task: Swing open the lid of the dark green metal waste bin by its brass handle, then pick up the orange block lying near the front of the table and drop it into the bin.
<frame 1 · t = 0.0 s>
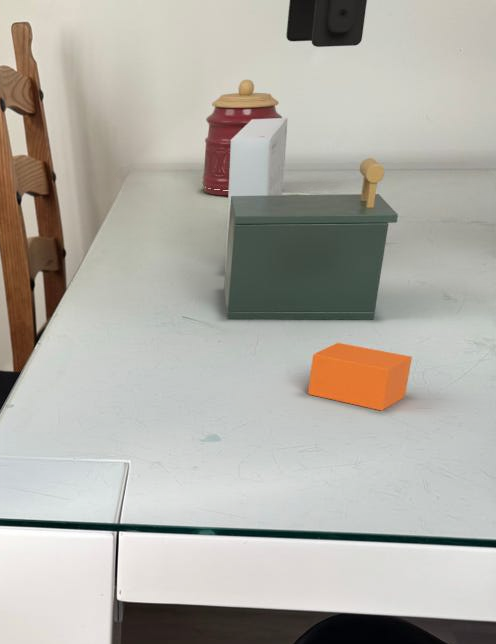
hand: (321, 42, 71), 27 cm above the table, tool pointing down, fingers open, 9 cm apart
bin: (294, 304, 115), on the table
kitchen canister: (238, 192, 181), on the table
orange block: (356, 395, 88), on the table
saucer: (291, 214, 161), on the table
skincare box: (251, 259, 136), on the table
bin lid: (311, 187, 108), point 12 cm above the table, hinge at 0.0°
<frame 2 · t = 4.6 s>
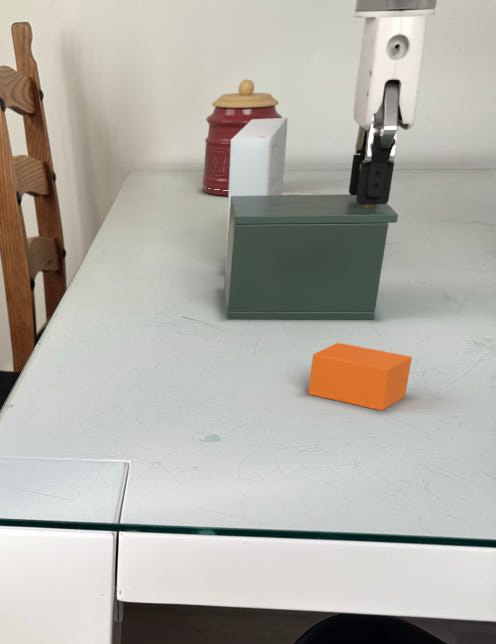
hand: (367, 197, 108), 11 cm above the table, tool pointing down, fingers closed on bin lid, 5 cm apart
bin lid: (311, 187, 108), point 12 cm above the table, hinge at 0.0°, touching gripper
everything else where it was.
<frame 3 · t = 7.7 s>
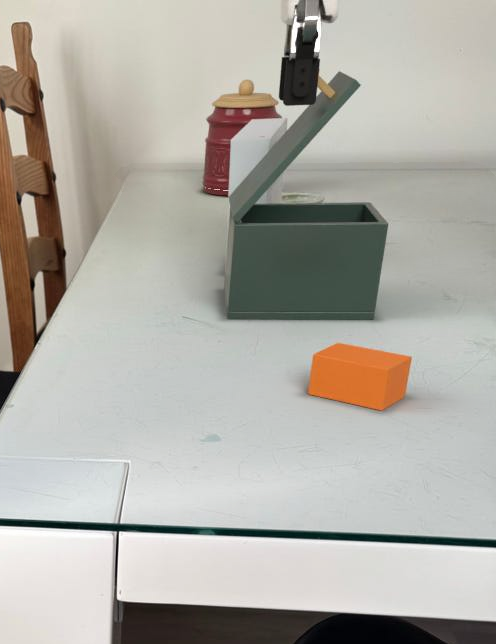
hand: (296, 100, 104), 21 cm above the table, tool pointing down, fingers closed on bin lid, 5 cm apart
bin lid: (274, 132, 106), point 18 cm above the table, hinge at 49.3°, touching gripper
everything else where it was.
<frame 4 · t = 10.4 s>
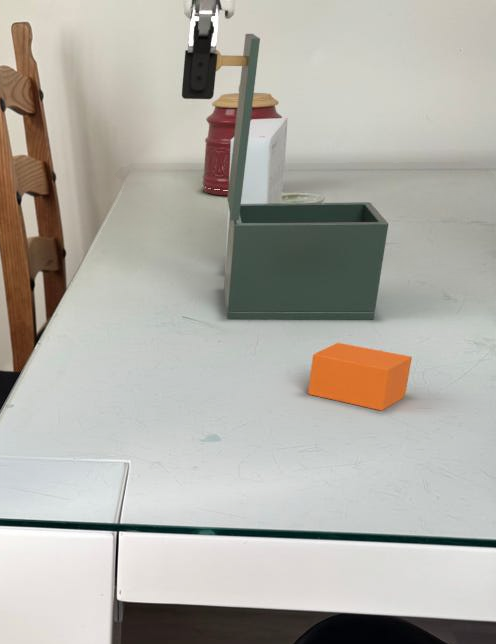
hand: (197, 94, 105), 22 cm above the table, tool pointing down, fingers closed on bin lid, 5 cm apart
bin lid: (222, 125, 106), point 19 cm above the table, hinge at 87.8°, touching gripper
everything else where it was.
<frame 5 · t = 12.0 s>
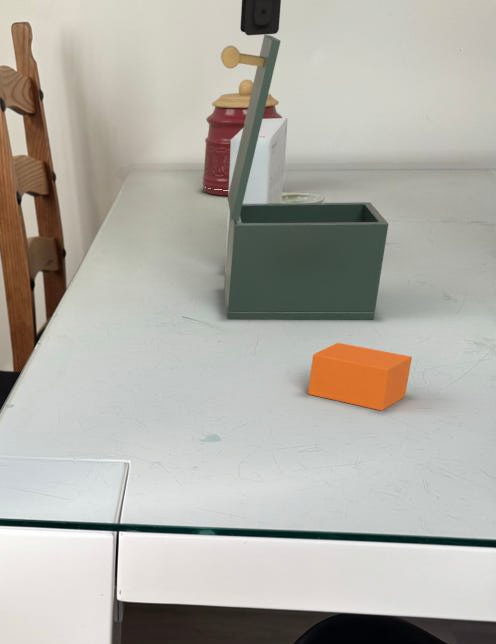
hand: (258, 32, 101), 27 cm above the table, tool pointing down, fingers open, 9 cm apart
bin lid: (231, 124, 106), point 19 cm above the table, hinge at 80.9°
everything else where it was.
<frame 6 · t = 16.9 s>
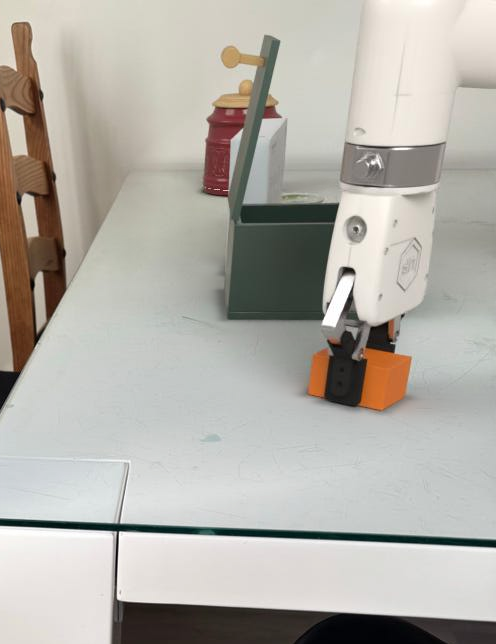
hand: (356, 391, 88), 0 cm above the table, tool pointing down, fingers closed on orange block, 4 cm apart
orange block: (355, 395, 88), on the table, touching gripper
everything else where it was.
when the fingers open (13 cm above the table, at t = 23.1 s): orange block drops 12 cm, resting on bin.
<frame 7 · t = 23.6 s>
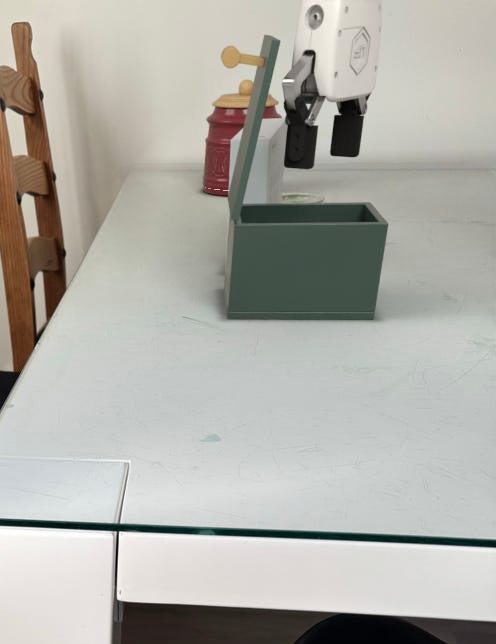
hand: (321, 162, 106), 15 cm above the table, tool pointing down, fingers open, 9 cm apart
orange block: (304, 297, 114), point 1 cm above the table, touching bin
everything else where it was.
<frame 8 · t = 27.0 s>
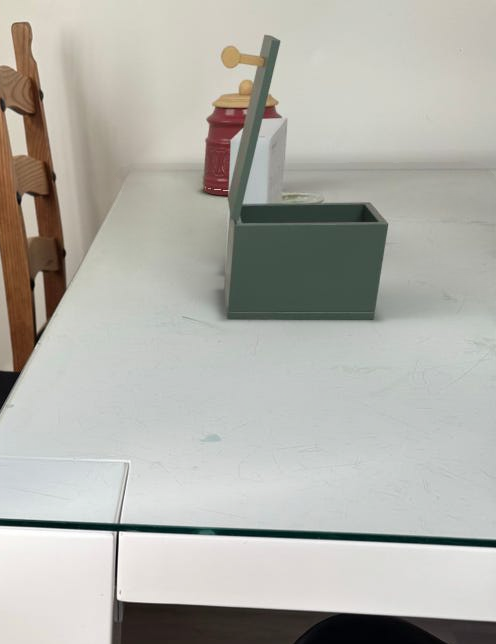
nothing on the table moved.
at the end: bin lid at +81° (first picture: +0°); orange block inside the target area in the bin (0.9 cm from its centre), point 0.8 cm above the bin's base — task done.
